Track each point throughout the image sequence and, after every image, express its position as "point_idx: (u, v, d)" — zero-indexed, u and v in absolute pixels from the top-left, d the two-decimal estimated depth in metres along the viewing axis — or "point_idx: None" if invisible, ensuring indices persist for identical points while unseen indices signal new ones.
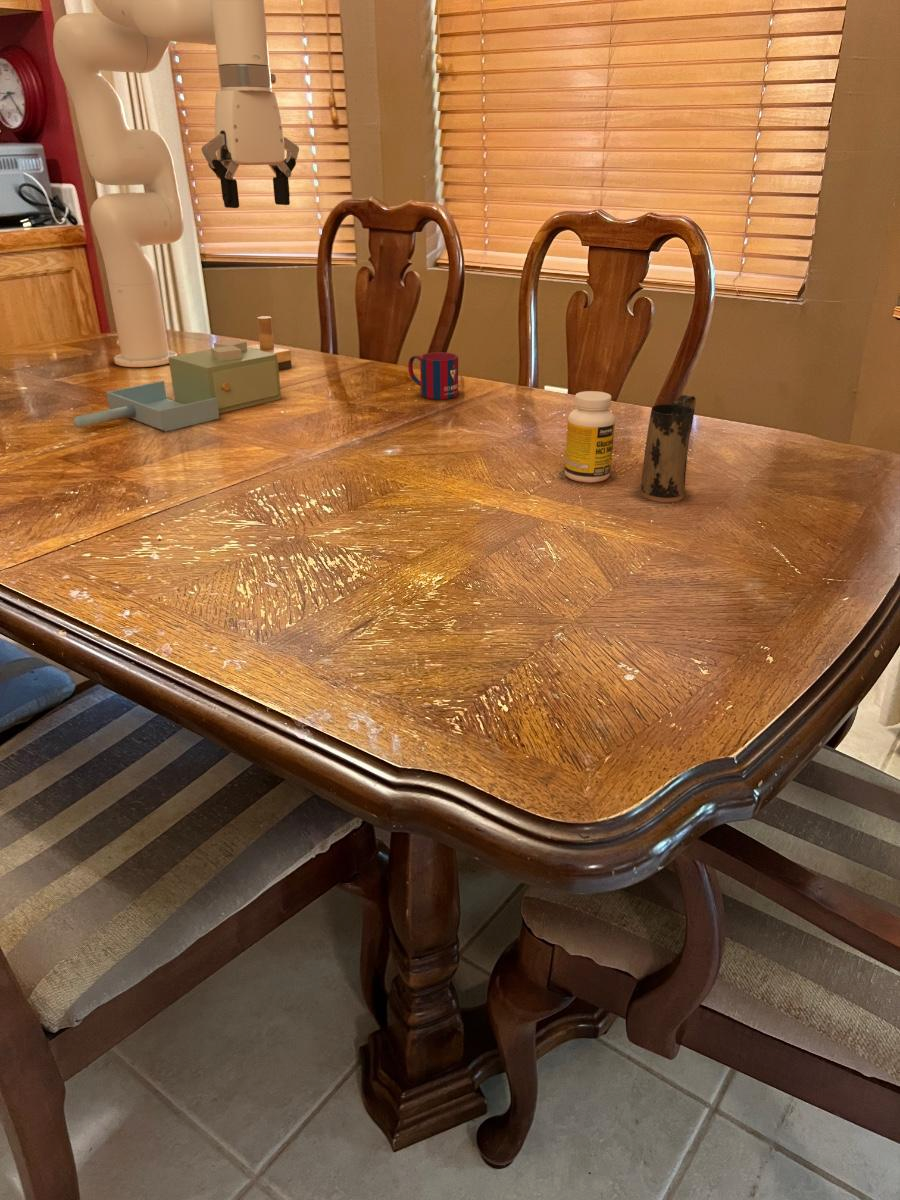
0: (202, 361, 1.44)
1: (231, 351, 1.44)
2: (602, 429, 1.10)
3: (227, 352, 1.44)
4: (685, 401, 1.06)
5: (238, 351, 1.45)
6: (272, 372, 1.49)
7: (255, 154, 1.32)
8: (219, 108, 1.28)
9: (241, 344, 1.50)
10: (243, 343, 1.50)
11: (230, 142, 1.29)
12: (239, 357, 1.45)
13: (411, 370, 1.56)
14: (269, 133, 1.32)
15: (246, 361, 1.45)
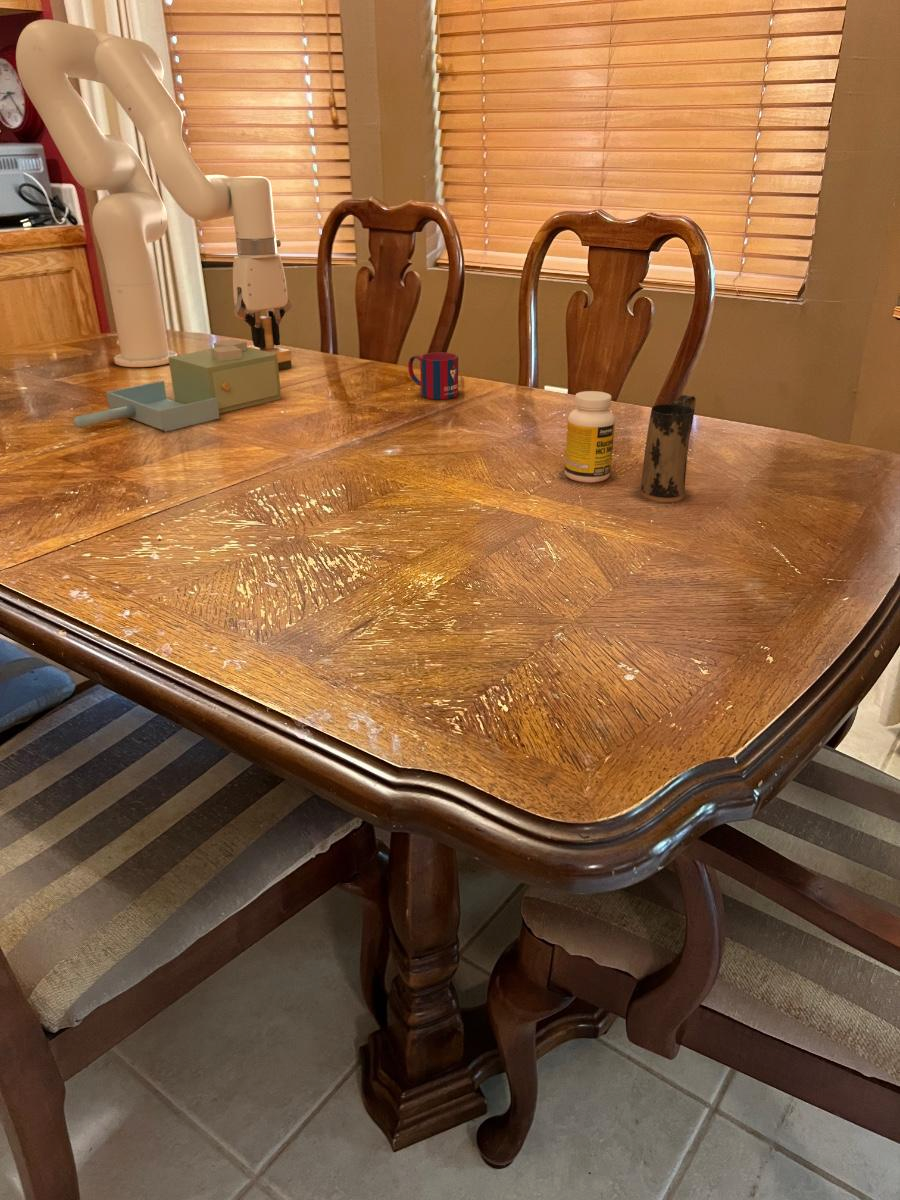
0: (202, 361, 1.44)
1: (231, 351, 1.44)
2: (602, 429, 1.10)
3: (227, 352, 1.44)
4: (685, 401, 1.06)
5: (238, 351, 1.45)
6: (272, 372, 1.49)
7: (264, 303, 1.67)
8: (236, 270, 1.64)
9: (241, 344, 1.50)
10: (243, 343, 1.50)
11: (245, 296, 1.64)
12: (239, 357, 1.45)
13: (411, 370, 1.56)
14: (275, 286, 1.68)
15: (246, 361, 1.45)
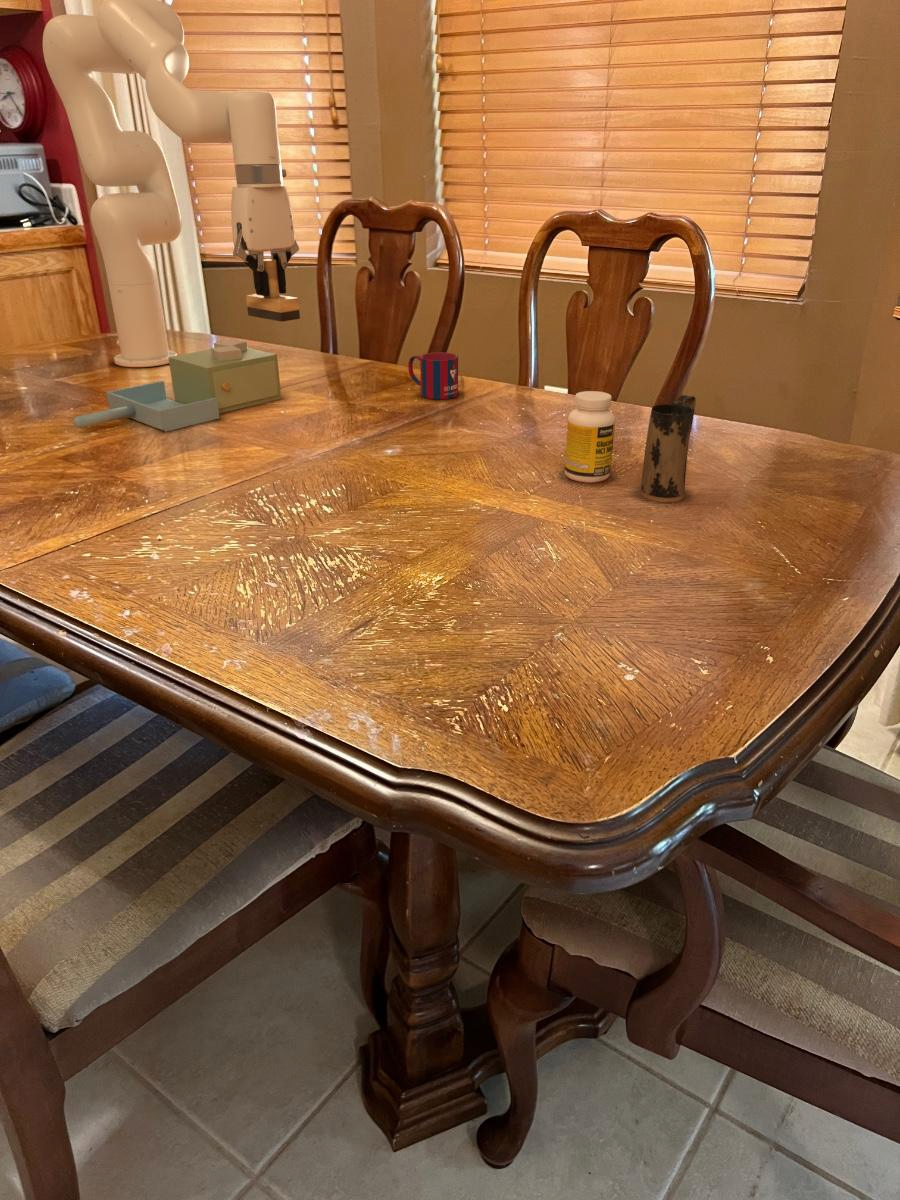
0: (202, 361, 1.44)
1: (231, 351, 1.44)
2: (602, 429, 1.10)
3: (227, 352, 1.44)
4: (685, 401, 1.06)
5: (238, 351, 1.45)
6: (272, 372, 1.49)
7: (268, 242, 1.45)
8: (235, 202, 1.41)
9: (241, 344, 1.50)
10: (243, 343, 1.50)
11: (246, 232, 1.42)
12: (239, 357, 1.45)
13: (411, 370, 1.56)
14: (280, 223, 1.45)
15: (246, 361, 1.45)
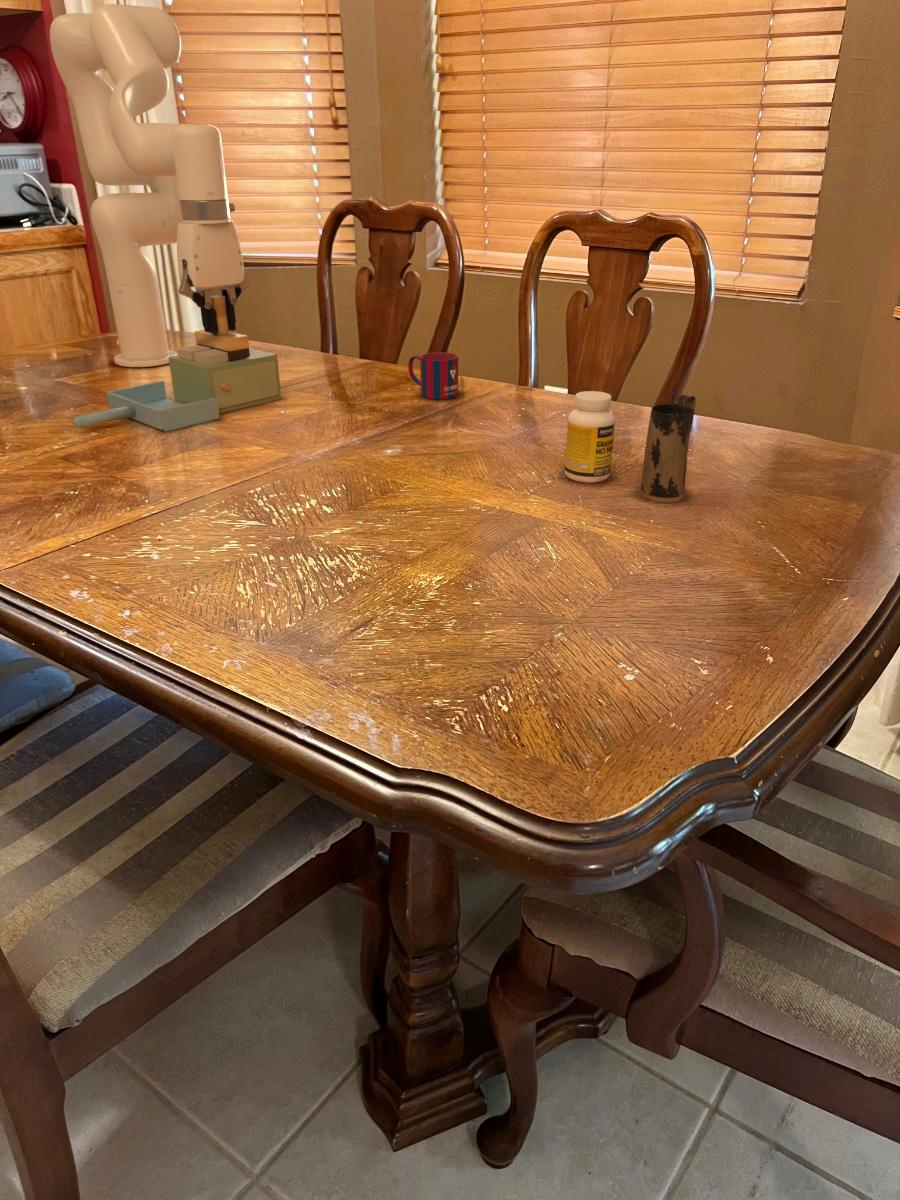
0: None
1: (218, 354, 1.42)
2: (602, 429, 1.10)
3: (215, 356, 1.42)
4: (685, 401, 1.06)
5: (225, 354, 1.43)
6: (272, 372, 1.49)
7: (215, 279, 1.40)
8: (180, 239, 1.36)
9: (204, 350, 1.45)
10: (207, 349, 1.46)
11: (191, 270, 1.37)
12: (225, 360, 1.43)
13: (411, 370, 1.56)
14: (228, 259, 1.40)
15: (246, 361, 1.45)
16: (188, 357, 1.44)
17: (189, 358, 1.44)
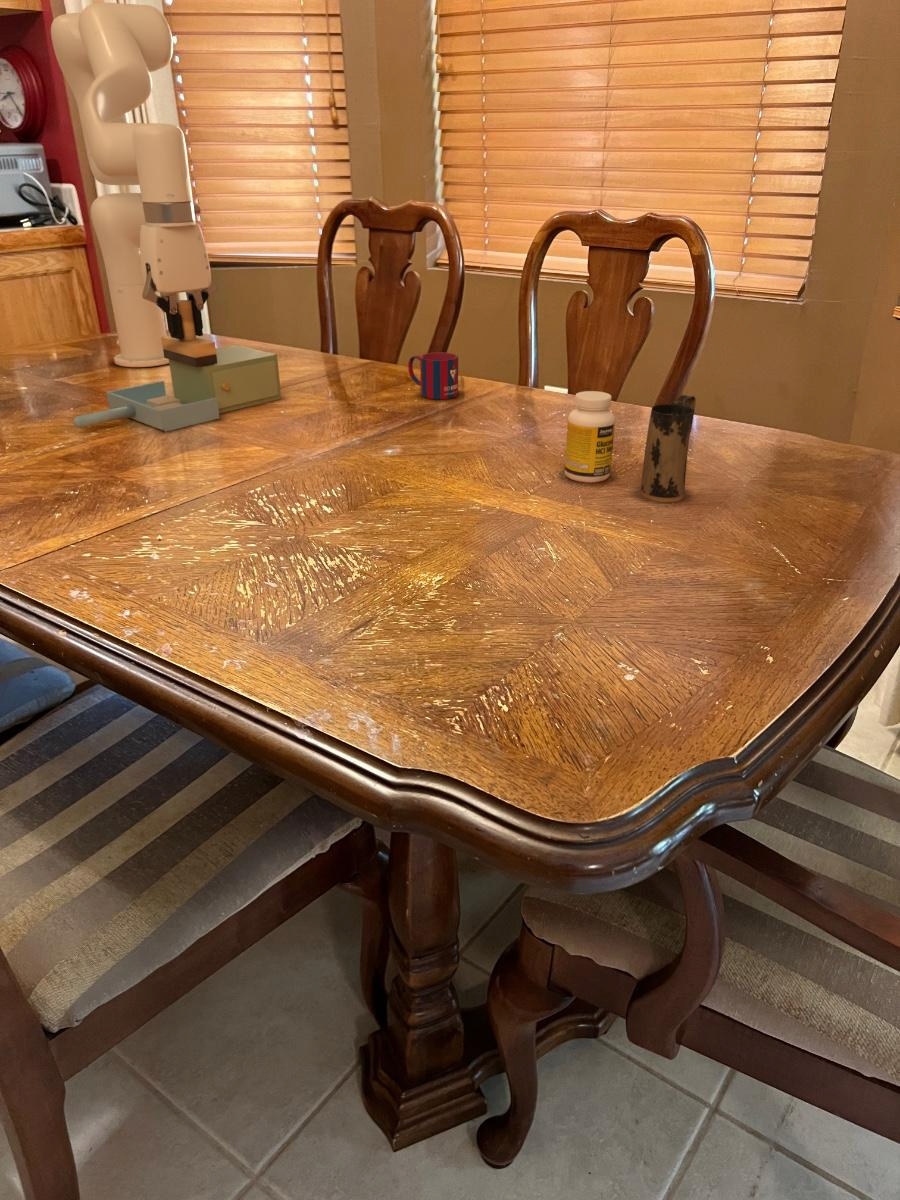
0: None
1: None
2: (602, 429, 1.10)
3: None
4: (685, 401, 1.06)
5: None
6: (272, 372, 1.49)
7: (180, 283, 1.36)
8: (143, 242, 1.32)
9: None
10: None
11: (155, 274, 1.33)
12: None
13: (411, 370, 1.56)
14: (194, 263, 1.36)
15: (246, 361, 1.45)
16: None
17: None
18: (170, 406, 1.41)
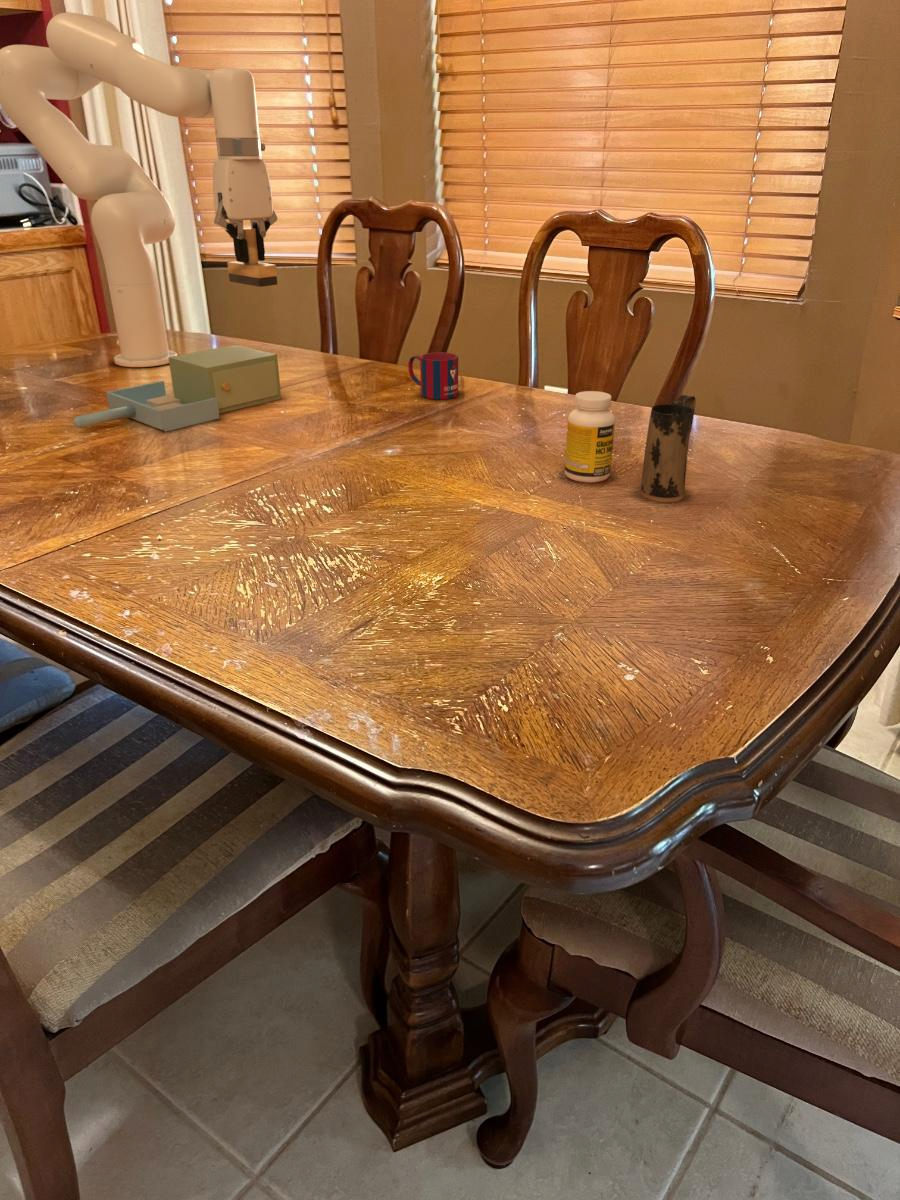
0: (202, 361, 1.44)
1: None
2: (602, 429, 1.10)
3: None
4: (685, 401, 1.06)
5: None
6: (272, 372, 1.49)
7: (247, 211, 1.55)
8: (216, 173, 1.51)
9: None
10: None
11: (226, 202, 1.52)
12: None
13: (411, 370, 1.56)
14: (259, 193, 1.55)
15: (246, 361, 1.45)
16: None
17: None
18: (170, 406, 1.41)
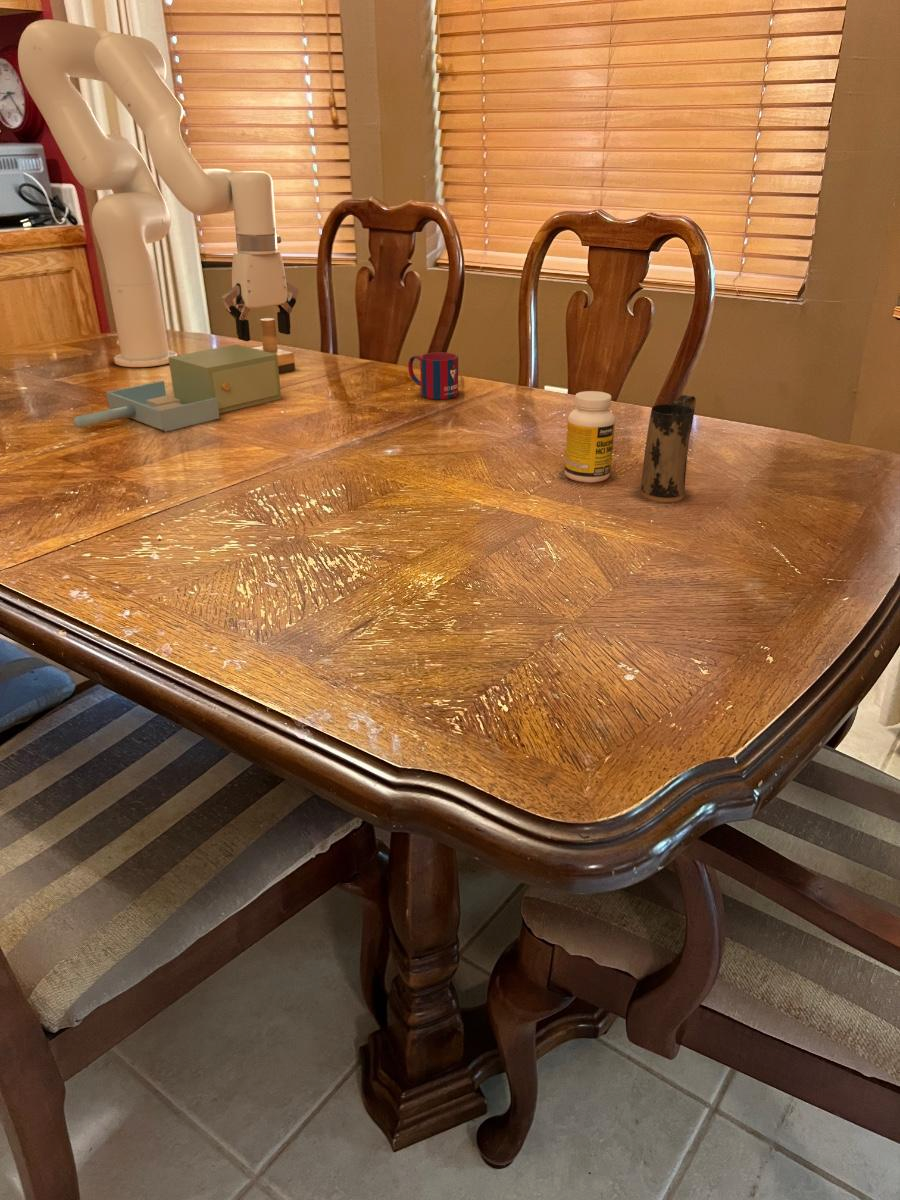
0: (202, 361, 1.44)
1: None
2: (602, 429, 1.10)
3: None
4: (685, 401, 1.06)
5: None
6: (272, 372, 1.49)
7: (263, 300, 1.65)
8: (236, 266, 1.61)
9: None
10: None
11: (244, 292, 1.62)
12: None
13: (411, 370, 1.56)
14: (275, 283, 1.65)
15: (246, 361, 1.45)
16: None
17: None
18: (170, 406, 1.41)
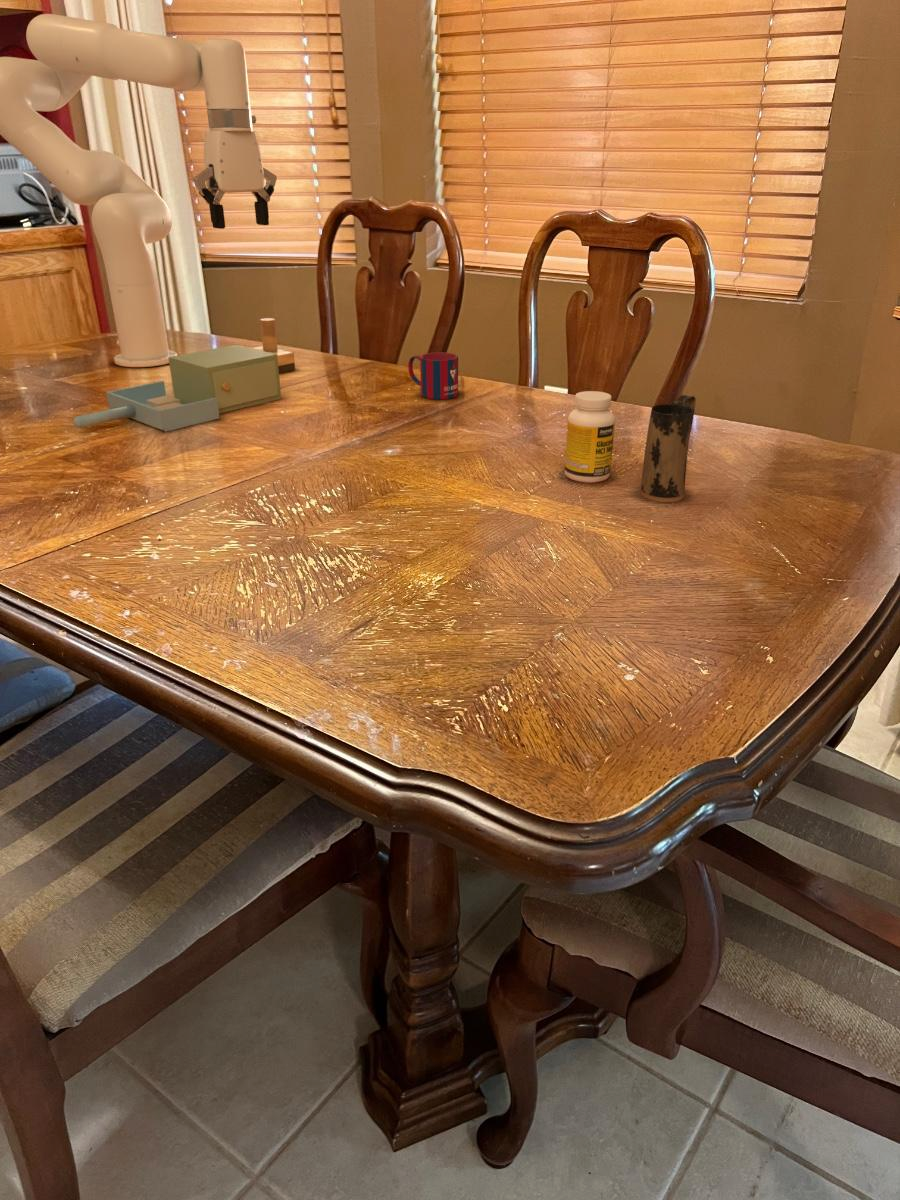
0: (202, 361, 1.44)
1: None
2: (602, 429, 1.10)
3: None
4: (685, 401, 1.06)
5: None
6: (272, 372, 1.49)
7: (238, 183, 1.55)
8: (208, 145, 1.52)
9: None
10: None
11: (217, 173, 1.53)
12: None
13: (411, 370, 1.56)
14: (250, 166, 1.56)
15: (246, 361, 1.45)
16: None
17: None
18: (170, 406, 1.41)
